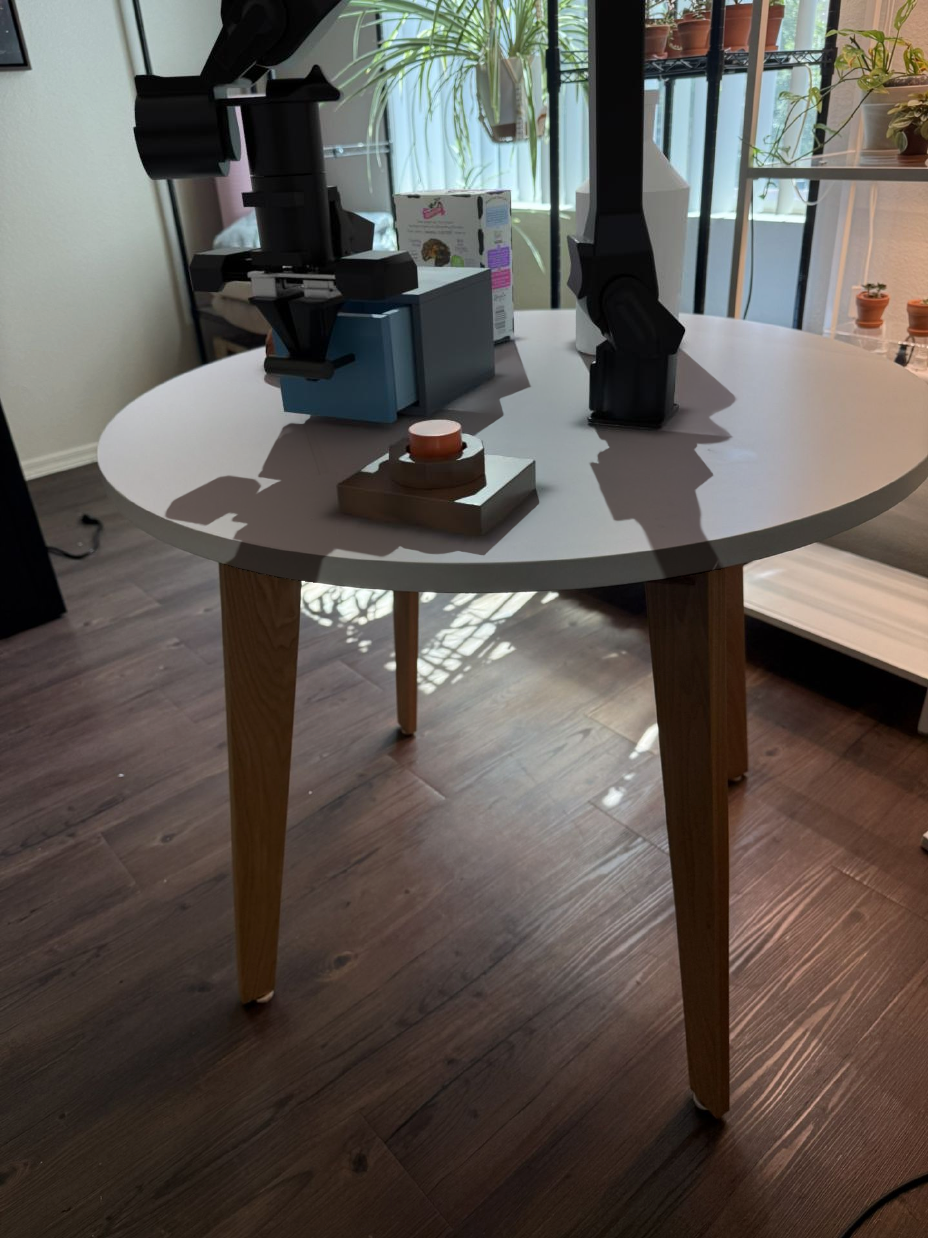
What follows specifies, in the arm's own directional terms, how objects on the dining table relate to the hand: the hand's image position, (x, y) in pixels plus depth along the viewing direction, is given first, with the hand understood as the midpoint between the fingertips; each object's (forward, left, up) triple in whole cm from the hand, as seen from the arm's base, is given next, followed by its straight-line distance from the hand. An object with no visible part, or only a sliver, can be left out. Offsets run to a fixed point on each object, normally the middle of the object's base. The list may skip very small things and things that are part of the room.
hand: (314, 380), depth 74 cm
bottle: (-15, -39, -5) cm, 42 cm away
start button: (-17, +10, -1) cm, 20 cm away
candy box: (+6, -38, -5) cm, 39 cm away
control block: (-17, +10, -5) cm, 20 cm away
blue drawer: (0, -7, -4) cm, 8 cm away
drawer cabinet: (0, -15, -5) cm, 16 cm away
